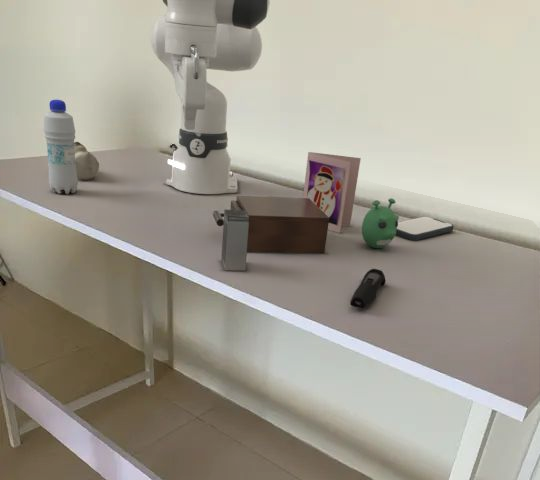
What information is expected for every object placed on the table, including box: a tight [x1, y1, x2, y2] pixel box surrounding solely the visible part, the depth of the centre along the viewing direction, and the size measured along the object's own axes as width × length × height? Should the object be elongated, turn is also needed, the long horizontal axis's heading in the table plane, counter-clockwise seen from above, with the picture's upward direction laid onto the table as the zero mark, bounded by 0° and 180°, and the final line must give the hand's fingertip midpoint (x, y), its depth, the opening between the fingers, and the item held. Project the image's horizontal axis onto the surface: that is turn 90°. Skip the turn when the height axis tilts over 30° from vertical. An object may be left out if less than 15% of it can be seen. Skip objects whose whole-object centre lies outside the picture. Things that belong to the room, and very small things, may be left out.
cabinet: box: [235, 195, 329, 254], centre depth 121 cm, size 16×15×7 cm
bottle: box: [43, 99, 79, 195], centre depth 136 cm, size 7×7×20 cm
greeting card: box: [302, 151, 362, 234], centre depth 133 cm, size 11×7×15 cm, turn 47°
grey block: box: [221, 209, 249, 272], centre depth 105 cm, size 4×4×10 cm
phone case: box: [396, 216, 455, 241], centre depth 138 cm, size 9×2×16 cm
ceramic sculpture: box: [74, 141, 100, 181], centre depth 154 cm, size 11×9×15 cm
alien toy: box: [361, 197, 400, 249], centre depth 122 cm, size 7×8×10 cm
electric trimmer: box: [350, 268, 387, 309], centre depth 99 cm, size 4×16×3 cm, turn 159°
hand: (189, 128), depth 110 cm, fingers closed
